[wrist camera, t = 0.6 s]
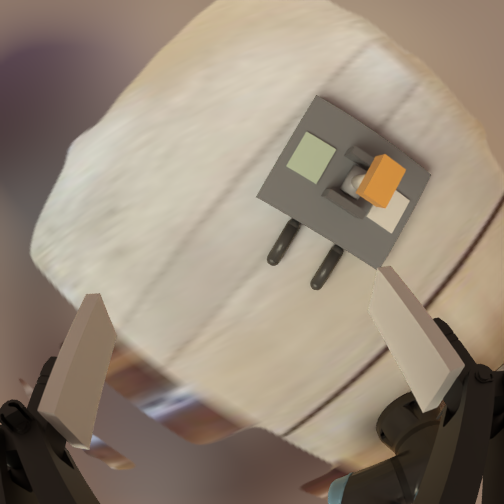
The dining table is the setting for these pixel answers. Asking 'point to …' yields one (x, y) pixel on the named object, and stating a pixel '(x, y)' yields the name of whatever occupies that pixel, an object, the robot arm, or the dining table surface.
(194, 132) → the dining table surface
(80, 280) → the dining table surface
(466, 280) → the dining table surface
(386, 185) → the breaker lever
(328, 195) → the breaker box
